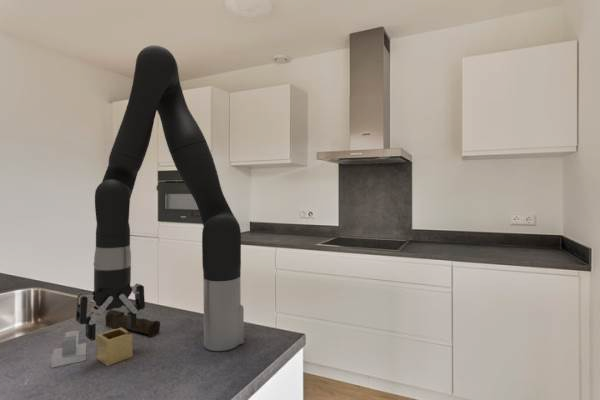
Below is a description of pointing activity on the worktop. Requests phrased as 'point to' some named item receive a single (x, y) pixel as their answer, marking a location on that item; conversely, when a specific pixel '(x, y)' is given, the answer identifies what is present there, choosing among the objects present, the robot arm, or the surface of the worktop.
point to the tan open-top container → (114, 346)
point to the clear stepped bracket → (69, 350)
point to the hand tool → (142, 326)
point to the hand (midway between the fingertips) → (112, 333)
